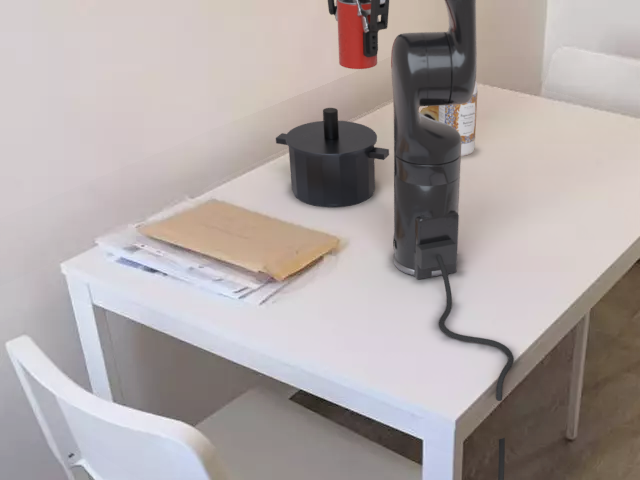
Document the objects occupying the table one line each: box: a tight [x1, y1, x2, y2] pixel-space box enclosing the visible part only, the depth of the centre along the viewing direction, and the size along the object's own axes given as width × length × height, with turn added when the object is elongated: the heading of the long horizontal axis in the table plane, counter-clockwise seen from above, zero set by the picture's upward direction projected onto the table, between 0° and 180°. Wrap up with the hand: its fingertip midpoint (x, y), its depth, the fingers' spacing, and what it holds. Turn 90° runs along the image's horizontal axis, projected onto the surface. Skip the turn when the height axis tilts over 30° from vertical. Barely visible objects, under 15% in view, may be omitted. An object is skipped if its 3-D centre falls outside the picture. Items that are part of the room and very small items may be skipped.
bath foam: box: [439, 81, 478, 157], centre depth 161 cm, size 7×7×20 cm
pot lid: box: [286, 107, 378, 157], centre depth 144 cm, size 15×15×6 cm
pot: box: [275, 132, 390, 208], centre depth 148 cm, size 14×19×9 cm
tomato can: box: [337, 0, 378, 70], centre depth 136 cm, size 6×6×10 cm
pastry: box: [419, 106, 439, 121], centre depth 177 cm, size 9×7×4 cm
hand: (358, 50), depth 138 cm, fingers closed on tomato can, 6 cm apart
